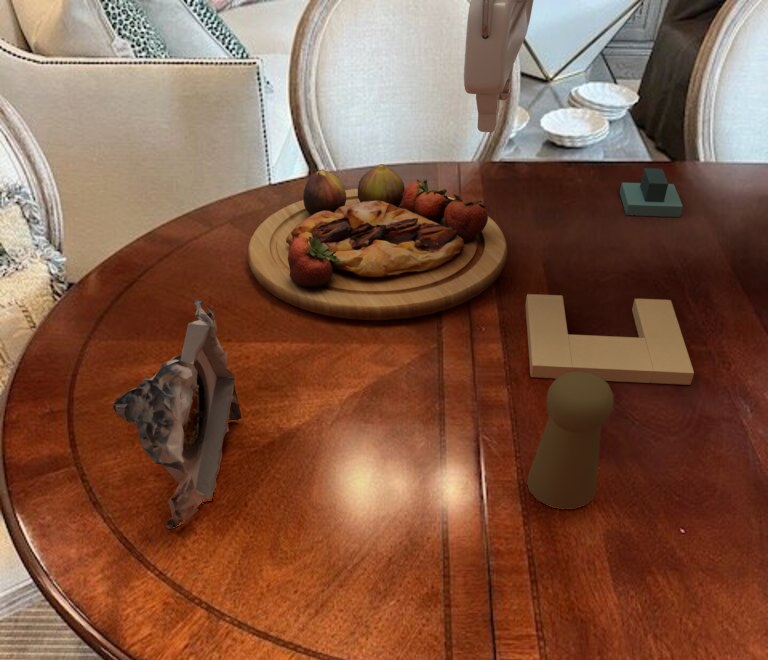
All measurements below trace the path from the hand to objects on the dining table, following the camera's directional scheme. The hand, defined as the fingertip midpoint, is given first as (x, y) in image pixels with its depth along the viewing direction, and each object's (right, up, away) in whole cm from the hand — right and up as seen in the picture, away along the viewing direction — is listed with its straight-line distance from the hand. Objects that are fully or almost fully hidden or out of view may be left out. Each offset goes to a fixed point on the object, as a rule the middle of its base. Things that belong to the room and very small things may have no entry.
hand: (494, 113), depth 82 cm
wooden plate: (-12, -10, +16) cm, 23 cm away
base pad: (+12, -23, +3) cm, 27 cm away
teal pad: (+25, +1, +26) cm, 36 cm away
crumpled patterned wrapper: (-28, -38, -12) cm, 49 cm away
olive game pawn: (+4, -40, -13) cm, 42 cm away
